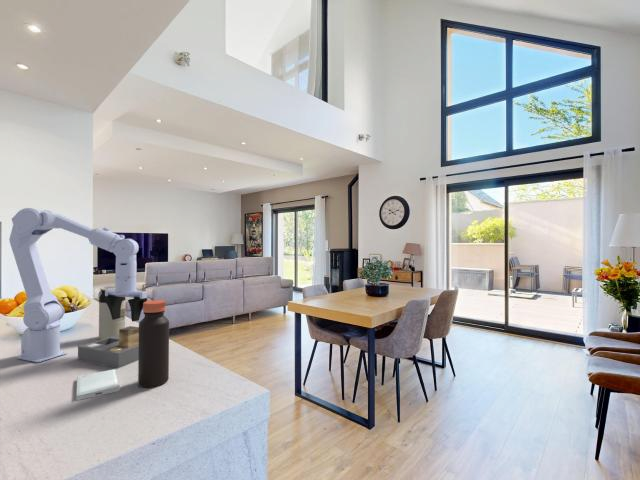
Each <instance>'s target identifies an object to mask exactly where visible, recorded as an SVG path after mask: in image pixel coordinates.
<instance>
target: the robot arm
mask: <svg viewBox="0 0 640 480" xmlns="http://www.w3.org/2000/svg"><path fill="white" fill-rule="evenodd" d="M11 222H12V228H11V231H10V235H9V239H8V240H9V244H10V247H11V250H12V253H13V254H12V255H13V257H14V260H15V263H16V266H17V270H18V272H19V276H20V279H21V282H22V286H23V288H24V292H25V294H26V295H25V296H26V300H25V303H24V305H23V310H24V312H23V313H24V314H23V318H22V319H23V324H24V325H25V326H26V327H27V328H25V329H24V331H23V332H22V333H21V339H20V341H21V342H20V348H21V349H20V355H18V356H17V357H16V358H17V359H18V360H23V361H28V362H33V363H40V362H44V361H47V360H52V359H54V358H57V357H60V356H64V355H67V354H68V352H67V351H64V350H61V321H60V320H61V319H62V318H64V315H65V308H64V306H63V304H61V302H59V300H58V298H57V296H56V295H55V294H53V293H52V292H51V290H50V285H49V283H48V279H47V276H46V273H45V270H44V266H43V263H42V259H41V257H40V253H39V251H38V247H37V244H36V243H37V242H38V241H39V239H40V238H41V237H42V236H43V235H45V234H47V233H49V232H51V231H52V230H53V229H62V230H64V231H68V232H70V233H73V234H75V235H78V236H80V237H84V238H86V239H88V241H89V244H90V245H93V246H94V247H97V248H100V249H102V250H105V251H107V252H109V253H113V254H114V255H115V277H114V278H115V282H114V283H115V285H114V286H115V289H109V290H105V296H108V297H107V298H104V301H105V302H106V304H107V305H108V307H109V310H110V313H111V316H112V319H113V320H115V319H119V318H120V312H121V304H122V300H123V298H124V297H125V298H129V299H127V302H128V305H129V308H130V315H131V316H130V317H131V323H132V322H138V321H140V317H141V314H142V311H143V303H144V302H147V301H148V291H144V290H139V289H137V269H138V268H137V266H138V265H137V253H138V252H139V250H140V249H139V248H140V246H139V243H138V242H137V241H136V240H134V239H133V238H126V237H125V235H123V234H117V233H115V232H112V231H110V230H111V229H110V228H108V227H105V226H104V227H103V228H102V227H96V228H92V227H90V226H87V225H86V224H84V223H82V222H79V221H76V220H74V219H72V218H70V217H68V216H66V215H63V214H60V213H57V212H56V213H55V212H53V211H50V210H42V209H34V208H31V207H25V208H22V209H20V210H19V211H18V212H16V213H15V215H13V217H12V218H11Z"/></svg>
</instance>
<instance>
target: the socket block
mask: <svg viewBox="0 0 640 480" xmlns="http://www.w3.org/2000/svg"><path fill="white" fill-rule="evenodd" d="M138 353H139V345H137V346H135V347H132V348H129V349H128V348H122V347H119V334H118V335H115V336H112V337H108V338H105V339H102V340H101V339H98V340H95V341H93V342H88V343H86V344H82V345H79V346H77V361H79V362H85V363H90V364H91V363H92V364H96V365H101V366H106V367H112V368H118V369H119V368H122V367H125V366H126V365H127V366H128V365H129V364H132V363H134V362H137V361H138Z"/></svg>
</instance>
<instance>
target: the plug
mask: <svg viewBox="0 0 640 480" xmlns="http://www.w3.org/2000/svg"><path fill="white" fill-rule="evenodd" d="M137 345H139V326H125V328H122V329H119V347H122V348H128V349H129V348H132V347H135V346H137Z"/></svg>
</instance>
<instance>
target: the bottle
mask: <svg viewBox="0 0 640 480" xmlns="http://www.w3.org/2000/svg"><path fill="white" fill-rule="evenodd" d="M142 311H143V314H144V317H143V318H142V319H141V320H139V322H138V327H139V353H138V360H137V361H138V362H137V363H138V365H137V366H138V367H137V368H138V369H137V370H138V373H137V375H138V376H137V377H138V379H137V384H138V386H140V387H142V388H149V389H150V388H154V387H159V386H162V385H164V384H165V383H167V382H168V380H169V371H170V369H169V368H170V363H169V361H170V360H169V359H170V356H169V355H170V321H169V319H168V318H167V316H165V315H164V314H165V312H166V300H163V299H156V300H155V299H154V300H147V301H146V302H144V303H143V308H142Z"/></svg>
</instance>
